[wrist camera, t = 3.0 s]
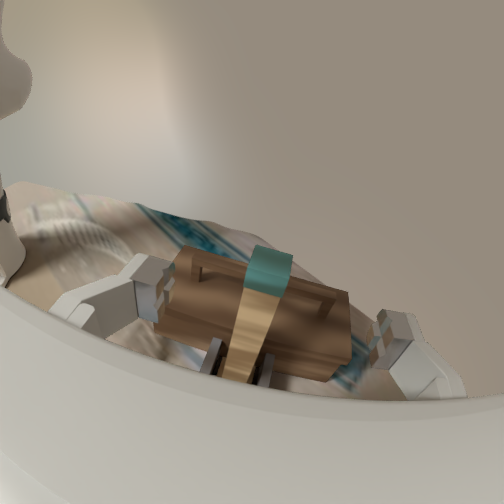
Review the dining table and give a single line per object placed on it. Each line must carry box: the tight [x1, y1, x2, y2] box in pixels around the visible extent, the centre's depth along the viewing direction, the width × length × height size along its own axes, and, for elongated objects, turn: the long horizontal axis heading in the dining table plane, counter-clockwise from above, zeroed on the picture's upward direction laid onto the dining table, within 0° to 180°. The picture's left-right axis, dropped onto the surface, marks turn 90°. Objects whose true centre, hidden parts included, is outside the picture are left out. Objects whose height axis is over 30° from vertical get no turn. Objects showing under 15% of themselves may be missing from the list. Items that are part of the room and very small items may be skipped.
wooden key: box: [217, 245, 293, 384], centre depth 28 cm, size 4×4×21 cm
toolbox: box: [153, 245, 352, 388], centre depth 35 cm, size 21×27×12 cm
